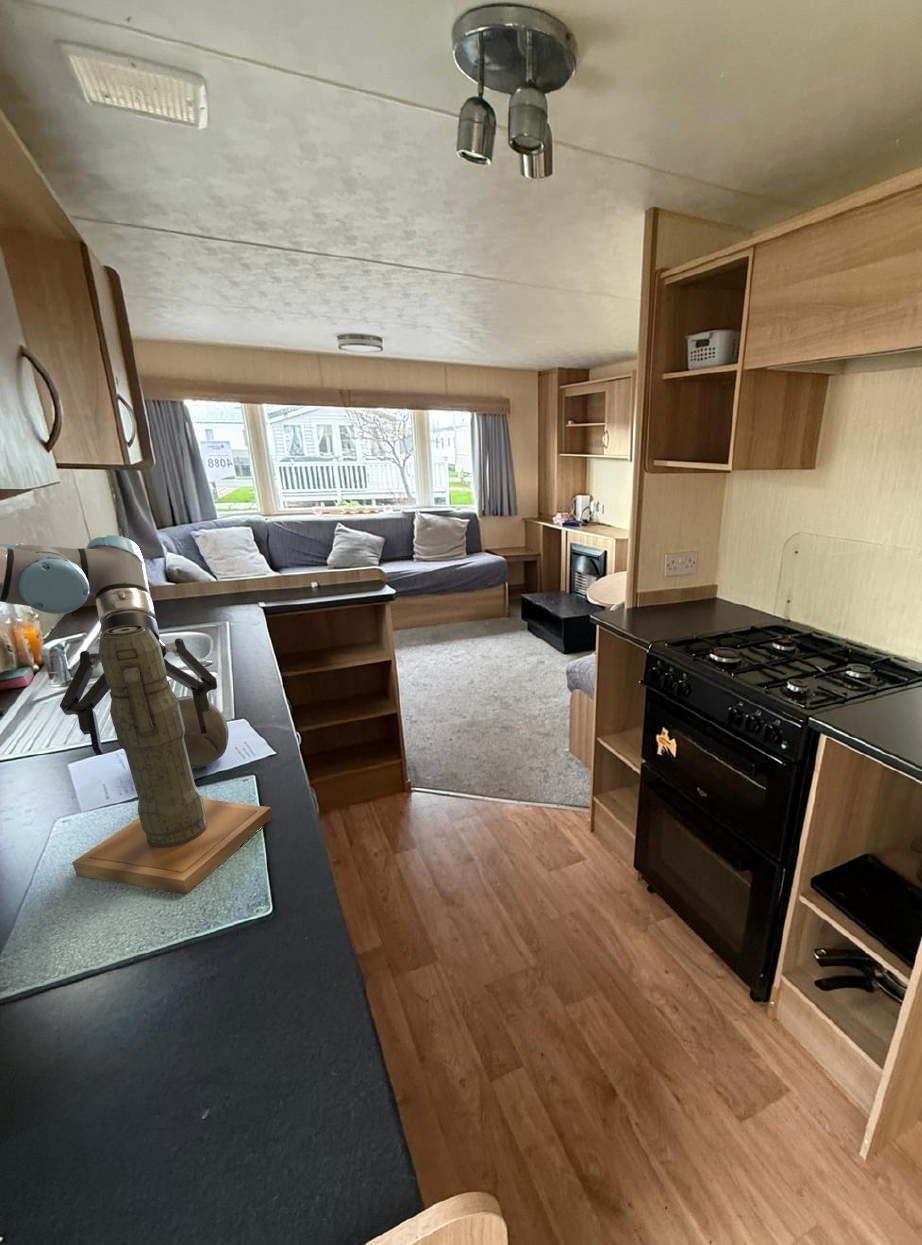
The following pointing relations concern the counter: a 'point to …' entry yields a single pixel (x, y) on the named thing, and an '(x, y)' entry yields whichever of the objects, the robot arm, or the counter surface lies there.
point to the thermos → (151, 736)
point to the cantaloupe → (207, 744)
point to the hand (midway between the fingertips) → (152, 740)
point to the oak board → (174, 850)
